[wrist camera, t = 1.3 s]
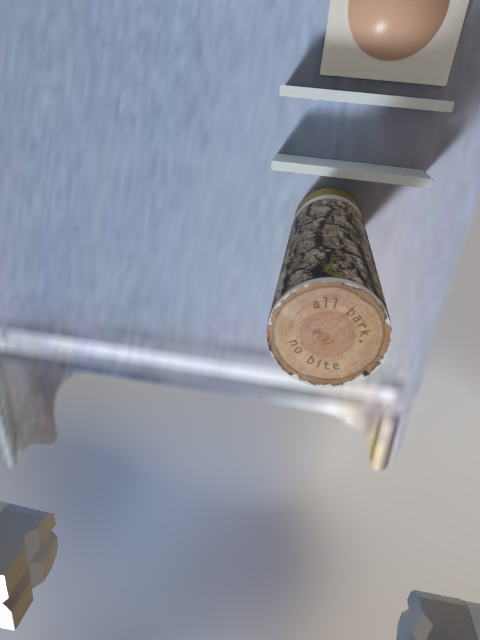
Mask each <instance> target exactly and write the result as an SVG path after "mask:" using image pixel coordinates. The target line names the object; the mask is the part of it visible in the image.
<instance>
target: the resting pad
mask: <svg viewBox="0 0 480 640" xmlns="http://www.w3.org/2000/svg"><path fill="white" fill-rule="evenodd" d="M468 4H469V0H331V1H330V8H329V14H328V21H327V28H326V35H325V41H324V48H323V55H322V62H321V68H320V75H329V76H339V77H350V78H361V79H372V80H383V81H394V82H404V83H415V84H426V85H437V86H446V85H447V81H448V77H449V74H450V70H451V66H452V63H453V59H454V55H455V52H456V48H457V44H458V41H459V37H460V33H461V29H462V26H463V22H464V18H465V15H466V11H467V7H468Z"/></svg>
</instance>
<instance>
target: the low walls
mask: <svg viewBox="0 0 480 640" xmlns="http://www.w3.org/2000/svg"><path fill="white" fill-rule="evenodd" d="M279 96H287V97H298V98H308V99H318V100H328V101H338V102H348V103H358V104H368V105H379V106H389V107H399V108H409V109H419V110H429V111H439V112H450V113H452V110H453V106H454V103H455V102H453V101H445V100H435V99H424V98H414V97H404V96H393V95H383V94H372V93H362V92H351V91H341V90H331V89H320V88H310V87H299V86H289V85H280V93H279ZM271 170H277V171H286V172H294V173H303V174H311V175H320V176H328V177H337V178H345V179H354V180H362V181H371V182H379V183H388V184H396V185H404V186H413V187H421V188H430V187H431V184H432V180H433V179H432V178H431V177H430V176H429V175H428V174H426V173H425V172H424V171H423V170H421V169H412V168H403V167H394V166H386V165H377V164H368V163H359V162H350V161H342V160H333V159H324V158H315V157H306V156H297V155H289V154H280V153H277V154H276V156H275V157H274V158H273V160H272V164H271Z"/></svg>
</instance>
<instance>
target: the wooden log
mask: <svg viewBox="0 0 480 640" xmlns="http://www.w3.org/2000/svg"><path fill="white" fill-rule="evenodd" d="M267 341H268V346H269V349H270V352H271V354H272V356H273V358H274V360H275V361H276V363H277V364H278V365H279V366H280V367H281V369H283V370H284V371H285V372H286V373H287V374H288V375H290V376H291V377H293V378H294V379H296V380H298V381H300V382H303V383H305V384H308V385H311V386H316V387H323V388H337V387H344V386H348V385H351V384H354V383H357V382H359V381H361V380H363V379H365V378H367V377H368V376H370V375H371V374H372V373H373V372H375V371H376V370H377V369H378V368H379V367H380V365H381V364H382V363H383V361H384V360H385V358H386V356H387V354H388V352H389V349H390V346H391V341H392V329H391V322H390V317H389V314H388V310H387V306H386V303H385V299H384V295H383V292H382V288H381V284H380V281H379V277H378V273H377V270H376V266H375V262H374V259H373V255H372V251H371V247H370V244H369V240H368V236H367V233H366V229H365V225H364V222H363V218H362V215H361V212H360V208H359V206H358V204H357V202H356V201H355V199H354V198H353V197H352V196H351V195H349V194H348V193H347V192H345V191H343V190H340V189H337V188H322V189H318V190H316V191H314V192H312V193H310V194H309V195H307V196H306V197H305V198H304V199H303V200H302V201H301V203H300V204H299V206H298V208H297V210H296V213H295V217H294V221H293V224H292V228H291V232H290V236H289V240H288V244H287V248H286V252H285V256H284V260H283V264H282V268H281V272H280V276H279V280H278V284H277V288H276V292H275V296H274V300H273V304H272V308H271V312H270V316H269V320H268V327H267Z"/></svg>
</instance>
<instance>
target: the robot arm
mask: <svg viewBox="0 0 480 640" xmlns="http://www.w3.org/2000/svg"><path fill="white" fill-rule="evenodd" d="M55 524H56V523H55V517H54V514H52V513H48V512H44V511H40V510H35V509H31V508H27V507H22V506H18V505H14V504H10V503H5V502H1V501H0V628H4V629H9V630H14V631H15V630H16V628H17V626H18V625H19V623H20V621H21V620H22V618H23V616H24V615H25V613H26V611H27V610H28V608H29V606H30V605H31V603H32V601H33V593H32V589H33V588H34V587H36V586H37V585H39V584H40V583H42V582H43V581H44V580H45V579H46V577H47V575H48V574H49V572H50V570H51V568H52V565H53V563H54V560H55V557H56V554H57V547H58V542H57V537H56V535H55V534H54V533H53V532H52V531H51V530H52V529H53V527H54V526H55ZM407 601H408V606H409V609H408V610H406V611H404V612H402V613H401V616H400V619H399V622H398V628H397V640H480V604H478V603H473V602H467V601H462V600H461V599H457V598H452V597H446V596H442V595H436V594H432V593H426V592H421V591H416V590H414V591H412V592H411V593H410V595H409V597H408V599H407Z"/></svg>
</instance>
